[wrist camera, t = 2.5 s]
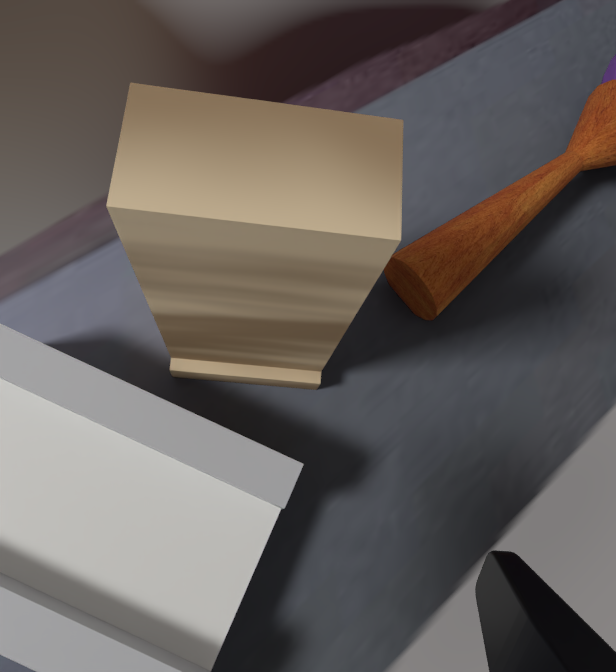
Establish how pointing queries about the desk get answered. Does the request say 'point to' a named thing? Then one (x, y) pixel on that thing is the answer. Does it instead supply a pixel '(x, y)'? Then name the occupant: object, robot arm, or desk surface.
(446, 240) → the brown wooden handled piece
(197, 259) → the beige block with panel
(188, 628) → the ledge
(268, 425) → the desk surface
